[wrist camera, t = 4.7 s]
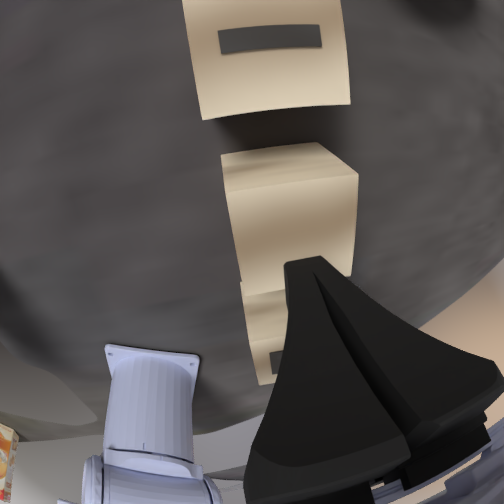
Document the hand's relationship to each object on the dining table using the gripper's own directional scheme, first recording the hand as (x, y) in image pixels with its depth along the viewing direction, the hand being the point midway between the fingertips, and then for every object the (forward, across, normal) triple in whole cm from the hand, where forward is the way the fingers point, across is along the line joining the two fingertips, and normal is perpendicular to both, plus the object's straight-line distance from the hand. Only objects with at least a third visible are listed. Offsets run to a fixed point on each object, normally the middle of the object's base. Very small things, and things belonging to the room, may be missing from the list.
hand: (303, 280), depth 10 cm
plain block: (+7, 0, 0) cm, 7 cm away
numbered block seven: (+7, 0, +8) cm, 11 cm away
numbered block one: (+7, 0, -8) cm, 11 cm away
